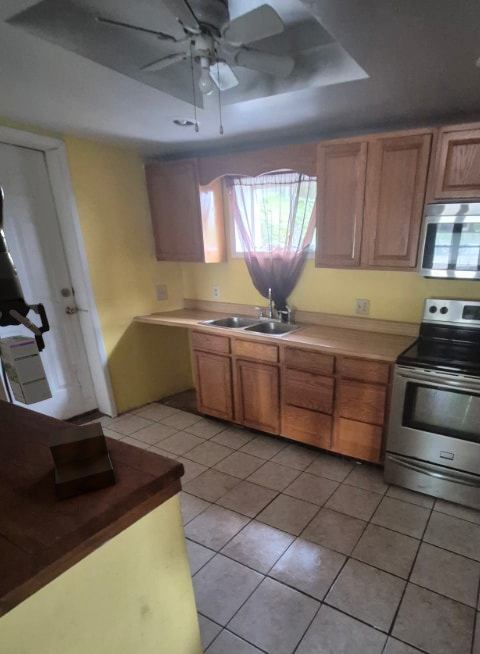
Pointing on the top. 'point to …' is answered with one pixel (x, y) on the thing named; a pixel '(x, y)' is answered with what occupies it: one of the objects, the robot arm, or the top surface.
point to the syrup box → (24, 369)
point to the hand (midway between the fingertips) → (19, 353)
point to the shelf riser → (81, 459)
